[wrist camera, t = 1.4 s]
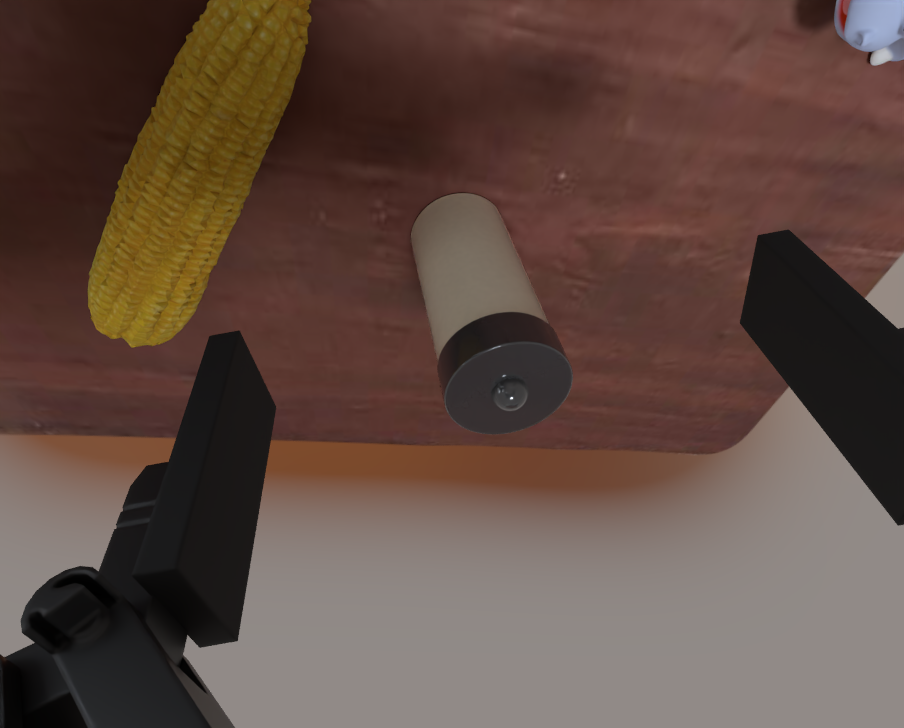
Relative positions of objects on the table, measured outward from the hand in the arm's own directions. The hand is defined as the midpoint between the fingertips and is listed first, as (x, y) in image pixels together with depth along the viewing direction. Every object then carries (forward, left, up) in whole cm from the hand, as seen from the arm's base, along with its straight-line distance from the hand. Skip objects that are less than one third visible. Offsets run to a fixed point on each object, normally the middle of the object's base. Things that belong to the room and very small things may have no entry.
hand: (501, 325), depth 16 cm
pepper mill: (+9, -6, -21) cm, 24 cm away
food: (-6, -10, -21) cm, 24 cm away
